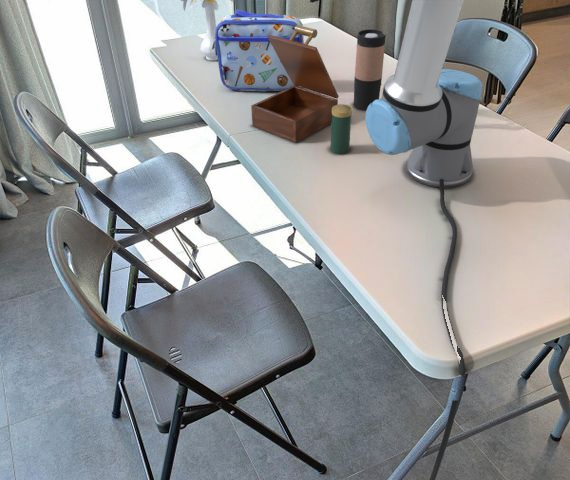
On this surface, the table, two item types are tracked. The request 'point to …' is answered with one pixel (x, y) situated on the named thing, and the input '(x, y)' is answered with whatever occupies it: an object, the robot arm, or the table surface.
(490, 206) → the table surface
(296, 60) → the case lid
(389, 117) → the robot arm
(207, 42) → the flower vase
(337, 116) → the tea tin
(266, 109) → the case
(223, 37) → the lunch box
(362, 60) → the travel mug
